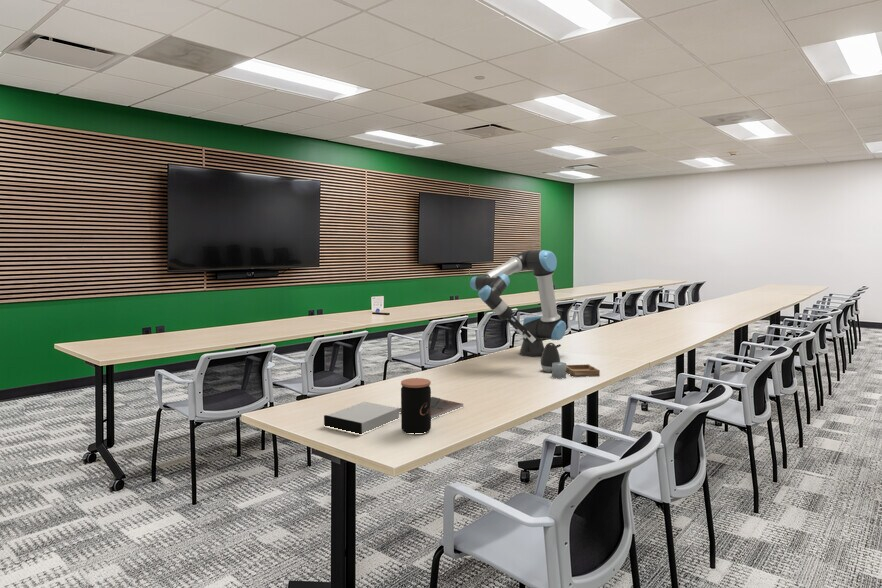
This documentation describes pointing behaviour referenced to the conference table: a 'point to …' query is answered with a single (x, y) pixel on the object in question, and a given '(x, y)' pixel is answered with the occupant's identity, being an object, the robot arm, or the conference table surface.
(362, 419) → the disc drive
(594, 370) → the tray
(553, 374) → the grey round-ended cylinder
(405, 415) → the coffee jar
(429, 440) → the conference table surface
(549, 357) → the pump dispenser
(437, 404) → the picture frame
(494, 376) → the conference table surface
